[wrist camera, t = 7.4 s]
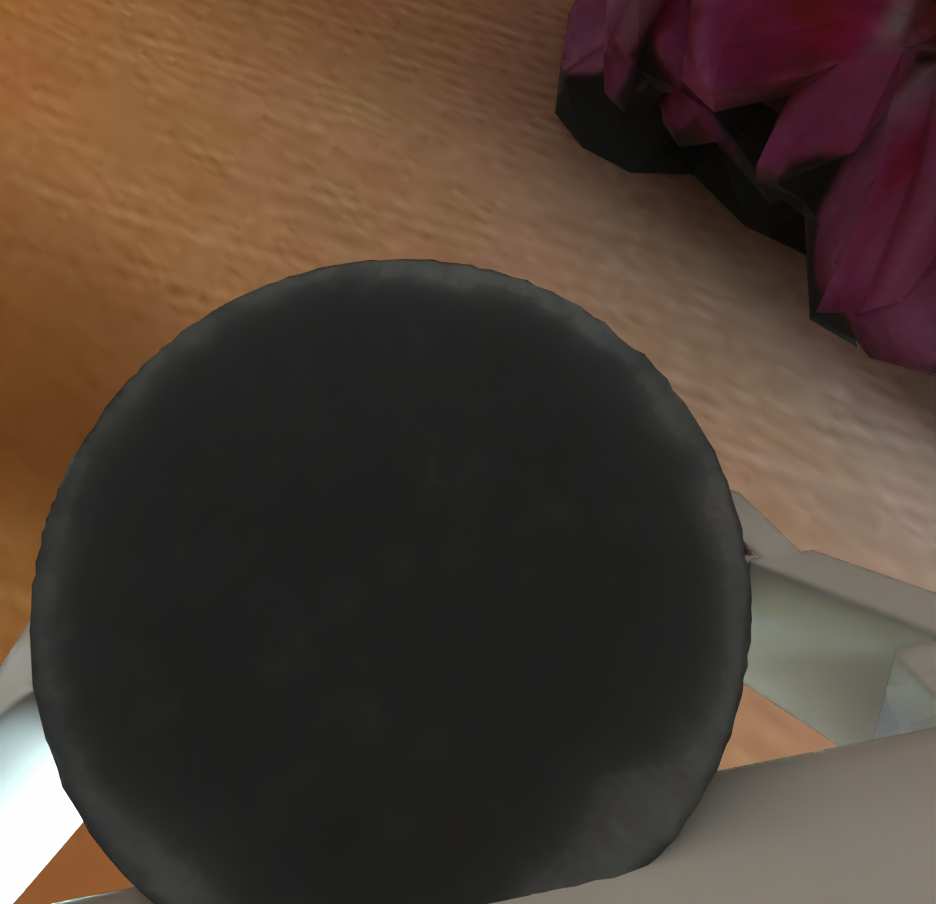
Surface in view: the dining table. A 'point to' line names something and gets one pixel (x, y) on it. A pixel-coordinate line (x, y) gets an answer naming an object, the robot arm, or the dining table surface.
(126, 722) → the pill bottle
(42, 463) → the dining table surface
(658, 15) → the flower arrangement
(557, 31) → the dining table surface
